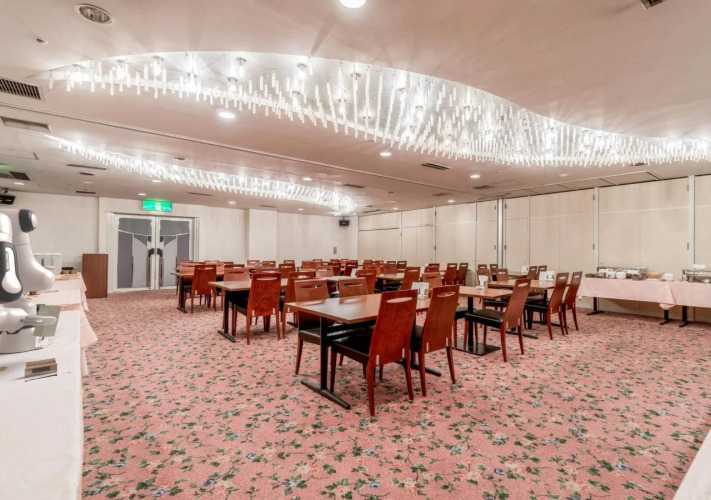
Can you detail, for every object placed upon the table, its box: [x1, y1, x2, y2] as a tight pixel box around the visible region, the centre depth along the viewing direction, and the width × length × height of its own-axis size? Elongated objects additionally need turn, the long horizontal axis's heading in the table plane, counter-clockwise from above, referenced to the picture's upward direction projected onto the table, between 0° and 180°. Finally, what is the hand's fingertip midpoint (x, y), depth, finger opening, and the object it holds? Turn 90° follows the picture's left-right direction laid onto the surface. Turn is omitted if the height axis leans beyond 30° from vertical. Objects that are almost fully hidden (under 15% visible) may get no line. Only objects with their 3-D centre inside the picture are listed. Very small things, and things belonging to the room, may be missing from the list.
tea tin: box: [33, 304, 62, 338], centre depth 148 cm, size 5×5×13 cm
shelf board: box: [24, 357, 58, 382], centre depth 136 cm, size 24×9×4 cm, turn 43°
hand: (49, 319), depth 149 cm, fingers closed on tea tin, 5 cm apart
